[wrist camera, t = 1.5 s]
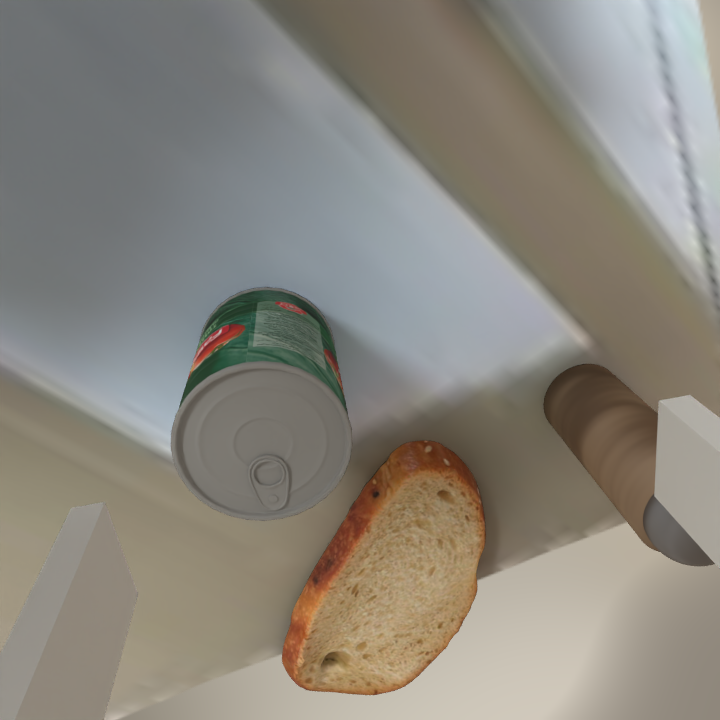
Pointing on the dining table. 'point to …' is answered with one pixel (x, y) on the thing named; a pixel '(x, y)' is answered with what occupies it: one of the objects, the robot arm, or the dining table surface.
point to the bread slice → (391, 577)
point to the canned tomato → (263, 409)
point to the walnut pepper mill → (618, 453)
